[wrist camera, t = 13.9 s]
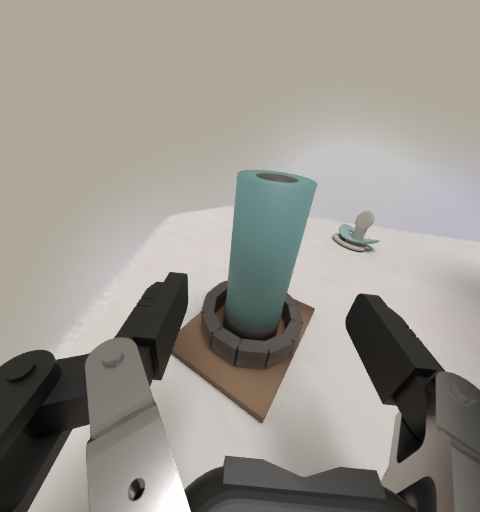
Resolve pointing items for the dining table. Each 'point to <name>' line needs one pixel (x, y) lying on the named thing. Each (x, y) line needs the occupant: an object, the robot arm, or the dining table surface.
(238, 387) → the socket
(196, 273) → the dining table surface
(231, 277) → the teal cylinder
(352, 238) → the pacifier
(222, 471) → the robot arm
